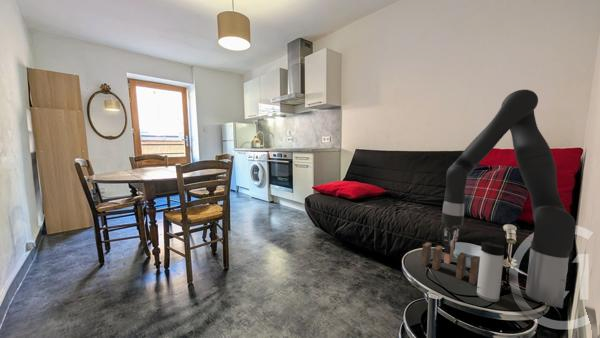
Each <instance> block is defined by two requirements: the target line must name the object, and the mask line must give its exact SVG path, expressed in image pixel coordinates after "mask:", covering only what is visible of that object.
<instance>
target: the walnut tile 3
mask: <svg viewBox="0 0 600 338" xmlns="http://www.w3.org/2000/svg"><path fill="white" fill-rule="evenodd" d="M466 255H467V254H466V253H462V252H461V253H460V254H459V255H458V258H456V269H455V270H456V272H455V279H457V280H462V279H463V278H464V277H465V274H466V267H465V266H466Z"/></svg>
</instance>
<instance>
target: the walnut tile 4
mask: <svg viewBox="0 0 600 338" xmlns="http://www.w3.org/2000/svg"><path fill="white" fill-rule="evenodd" d="M479 263H480V258H479V257H476V256H474V257H473V258H472V259H471V265H470V268H469V278H468V283H469V284H471V285H473V286H475V285H476V284H477V283H478V274H479Z"/></svg>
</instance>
